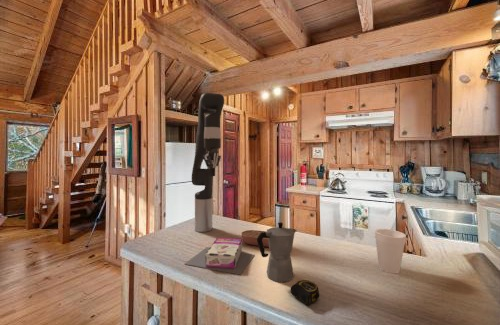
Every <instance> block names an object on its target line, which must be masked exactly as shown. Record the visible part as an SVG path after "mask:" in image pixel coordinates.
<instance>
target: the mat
mask: <svg viewBox="0 0 500 325" xmlns="http://www.w3.org/2000/svg"><path fill="white" fill-rule="evenodd" d="M209 248H210V247H207V246H206V247H205V248H204V249H202V250H201V251H199V252H198V253H197V254H195V255H194V256H192V257H191V258H190V259H189V260H187V261H186V262H185V263H184V265H186V266H189V267H196V268H201V269H206V270H211V271H217V272H223V273H228V274H233V275H238V276H241V274H242V273H243V272H244V271H245V269H246V268H247V266H248V265H249V263H251V261H252V259H254V257H255V254H252V253H246V252H241V254H240V256H239V259H238V262H237V264H236V267H235V268H223V267H207V266H205V263H206V252H207V251H208V250H209Z"/></svg>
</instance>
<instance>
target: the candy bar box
mask: <svg viewBox="0 0 500 325" xmlns="http://www.w3.org/2000/svg"><path fill="white" fill-rule="evenodd" d="M208 248H209V250H208V251H207V252H206V263H205V266H207V267H223V268H235V267H236V264H237V262H238V259H239V256H240V254H241V253H242V251H243V239H241V238H229V237H228V238H227V237H216V239H215V240H214V242H213V243H212V244H211V245H210V247H208Z"/></svg>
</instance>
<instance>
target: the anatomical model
mask: <svg viewBox="0 0 500 325" xmlns="http://www.w3.org/2000/svg"><path fill="white" fill-rule="evenodd" d="M266 231H267V230H266ZM266 231H265V230H254V229H250V230H249V229H248V230H244V231H242V232H241V238H242V242H244V243H245V244H247V245H251V246H258V247H259V245H258V243H257V237H258V236H259V234H260V233H261V232H266ZM262 242H263V247H264V248H265V247H266V248H269V242H268V238H263V239H262Z"/></svg>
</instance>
